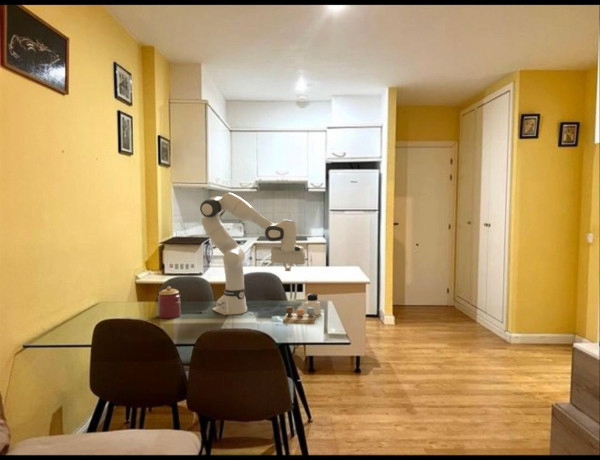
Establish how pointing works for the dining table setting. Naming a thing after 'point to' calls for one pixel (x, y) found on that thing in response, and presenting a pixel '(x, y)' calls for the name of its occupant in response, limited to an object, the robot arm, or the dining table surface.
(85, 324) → the dining table surface
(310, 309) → the slate-blue button
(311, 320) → the button board
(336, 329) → the dining table surface
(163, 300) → the canister
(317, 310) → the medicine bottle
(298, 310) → the peach rounded knob
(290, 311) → the brown rounded piece
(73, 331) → the dining table surface
